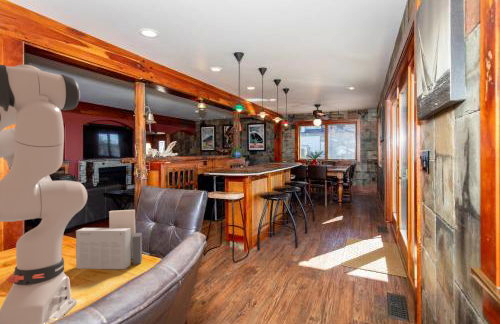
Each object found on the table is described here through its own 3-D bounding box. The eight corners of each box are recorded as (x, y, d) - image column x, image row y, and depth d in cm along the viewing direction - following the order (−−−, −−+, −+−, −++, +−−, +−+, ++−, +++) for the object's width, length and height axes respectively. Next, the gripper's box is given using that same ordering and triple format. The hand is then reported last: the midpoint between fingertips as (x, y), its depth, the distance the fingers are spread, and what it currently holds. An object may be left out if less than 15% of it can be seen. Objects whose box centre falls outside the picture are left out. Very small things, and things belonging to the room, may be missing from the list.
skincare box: (131, 264, 118) (131, 227, 117) (125, 269, 112) (124, 231, 112) (84, 263, 119) (83, 227, 118) (75, 268, 113) (74, 230, 113)
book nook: (140, 263, 118) (139, 213, 117) (106, 267, 115) (105, 214, 114) (142, 257, 126) (142, 209, 125) (110, 260, 122) (109, 210, 121)
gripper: (16, 159, 100) (35, 191, 99) (47, 167, 120) (64, 194, 119) (-2, 169, 99) (18, 201, 98) (33, 175, 118) (50, 202, 118)
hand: (43, 197), depth 109 cm, fingers open, 8 cm apart
